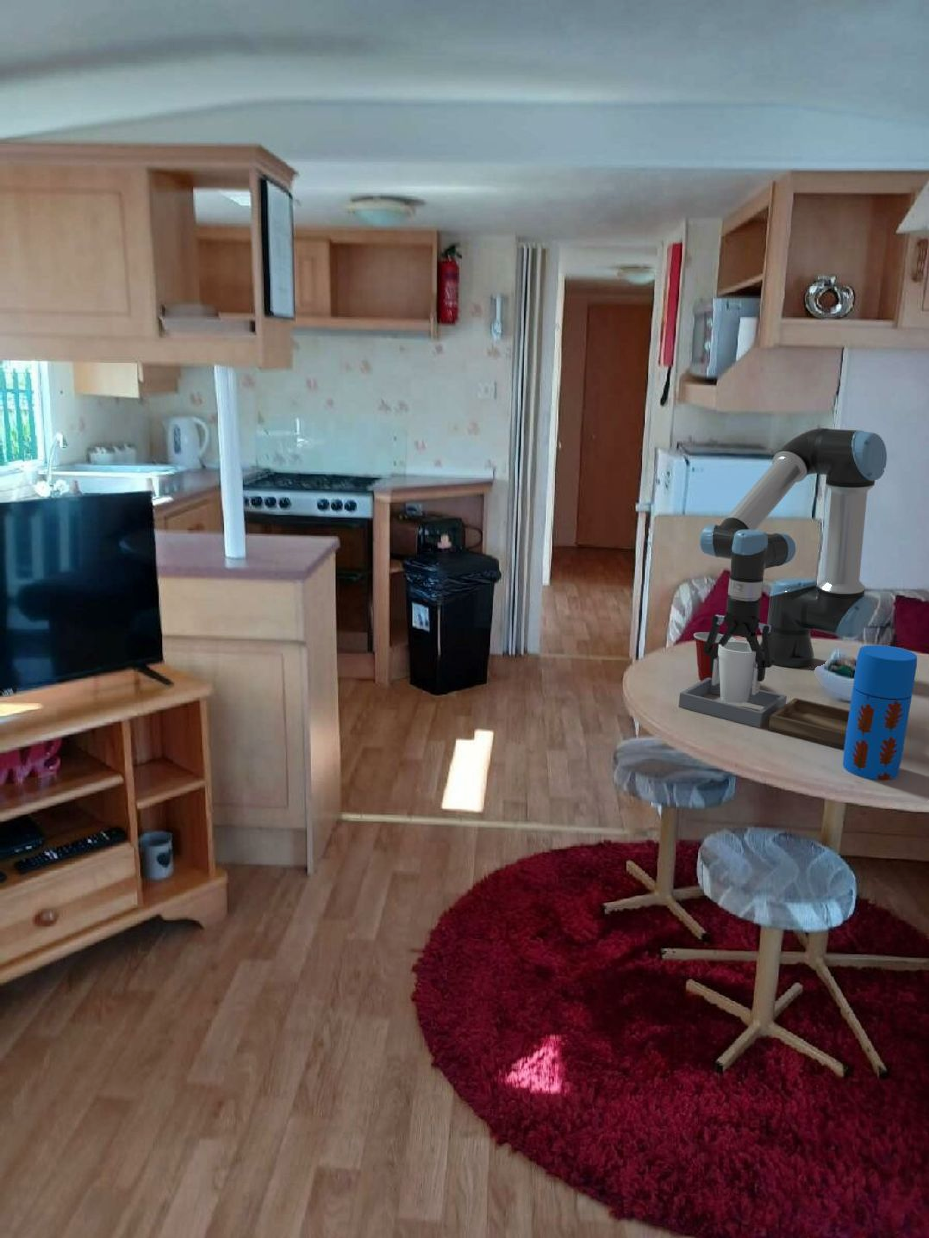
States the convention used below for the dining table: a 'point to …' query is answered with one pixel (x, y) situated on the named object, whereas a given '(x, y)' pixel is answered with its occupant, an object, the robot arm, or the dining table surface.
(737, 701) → the foam cup
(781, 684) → the dining table surface
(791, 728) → the bin
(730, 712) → the bin
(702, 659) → the plastic cup
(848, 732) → the thermos
